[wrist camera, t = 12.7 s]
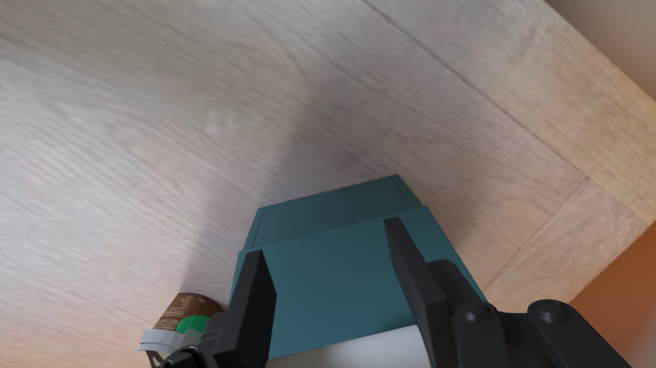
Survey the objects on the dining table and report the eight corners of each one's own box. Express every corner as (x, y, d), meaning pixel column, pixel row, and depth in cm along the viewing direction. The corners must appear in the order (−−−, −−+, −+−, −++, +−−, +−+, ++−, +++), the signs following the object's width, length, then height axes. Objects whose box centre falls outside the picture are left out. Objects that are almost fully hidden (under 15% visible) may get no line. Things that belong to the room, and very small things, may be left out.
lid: (583, 463, 14) (607, 365, 11) (188, 550, 14) (107, 478, 11) (427, 213, 29) (420, 145, 26) (241, 258, 30) (213, 196, 27)
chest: (421, 300, 44) (451, 363, 35) (297, 329, 45) (294, 399, 35) (397, 174, 39) (425, 207, 30) (257, 208, 39) (241, 252, 30)
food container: (247, 359, 46) (231, 435, 36) (199, 365, 45) (170, 443, 36) (227, 275, 42) (203, 336, 32) (175, 282, 42) (135, 345, 32)
